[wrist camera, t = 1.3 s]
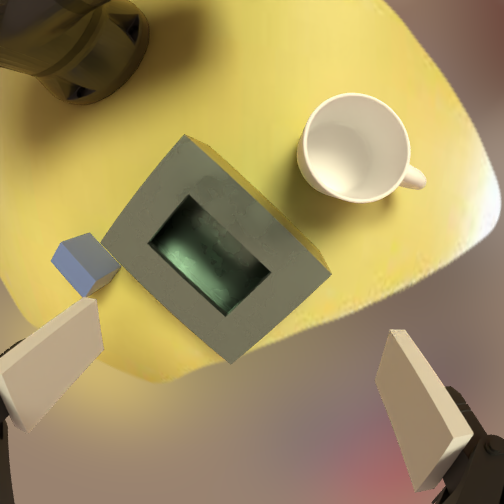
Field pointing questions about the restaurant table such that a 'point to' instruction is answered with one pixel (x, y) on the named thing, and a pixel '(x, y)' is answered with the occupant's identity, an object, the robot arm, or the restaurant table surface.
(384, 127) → the mug
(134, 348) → the restaurant table surface
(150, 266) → the coin box
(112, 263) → the blue block
